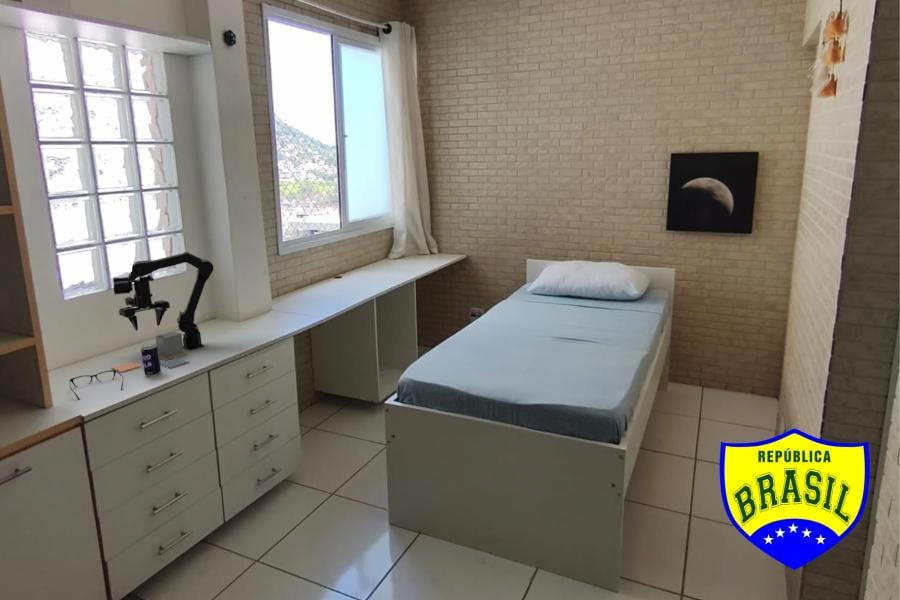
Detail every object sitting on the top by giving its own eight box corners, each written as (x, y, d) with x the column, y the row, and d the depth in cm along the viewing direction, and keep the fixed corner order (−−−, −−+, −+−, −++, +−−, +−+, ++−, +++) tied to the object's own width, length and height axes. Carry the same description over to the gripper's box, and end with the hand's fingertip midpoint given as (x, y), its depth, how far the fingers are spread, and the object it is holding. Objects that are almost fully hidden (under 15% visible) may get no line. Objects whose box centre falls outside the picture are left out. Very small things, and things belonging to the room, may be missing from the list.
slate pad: (178, 359, 248) (177, 358, 248) (189, 363, 244) (189, 361, 244) (159, 365, 242) (159, 363, 242) (170, 368, 237) (170, 367, 237)
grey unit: (177, 350, 259) (174, 330, 257) (187, 354, 255) (184, 333, 253) (154, 357, 251) (151, 336, 249) (164, 360, 247) (161, 339, 245)
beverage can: (145, 372, 234) (141, 343, 231) (161, 370, 235) (157, 341, 233) (144, 377, 228) (139, 347, 226) (160, 375, 230) (156, 345, 227)
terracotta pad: (131, 363, 245) (131, 361, 245) (141, 366, 240) (141, 365, 240) (111, 369, 239) (111, 367, 238) (121, 372, 234) (121, 371, 234)
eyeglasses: (119, 378, 230) (118, 368, 229) (127, 390, 217) (125, 380, 216) (69, 388, 220) (67, 378, 219) (73, 402, 208) (71, 391, 207)
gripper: (155, 285, 263) (159, 320, 266) (110, 293, 248) (115, 330, 252) (168, 288, 256) (172, 324, 260) (123, 297, 242) (128, 334, 245)
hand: (147, 328), depth 254 cm, fingers open, 9 cm apart
